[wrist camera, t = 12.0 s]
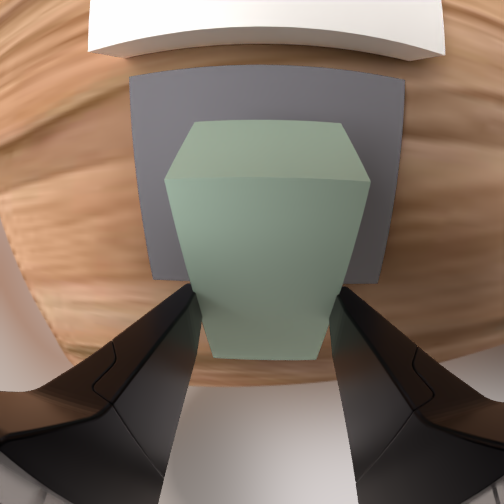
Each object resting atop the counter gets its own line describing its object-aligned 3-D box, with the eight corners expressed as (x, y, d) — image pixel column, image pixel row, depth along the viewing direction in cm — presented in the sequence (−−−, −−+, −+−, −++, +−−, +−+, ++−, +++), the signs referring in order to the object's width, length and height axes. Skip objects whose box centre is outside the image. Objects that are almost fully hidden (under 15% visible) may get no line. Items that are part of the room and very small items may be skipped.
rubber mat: (398, 80, 10) (404, 80, 9) (374, 276, 14) (377, 283, 14) (135, 77, 10) (129, 77, 10) (156, 273, 15) (153, 279, 14)
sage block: (340, 123, 8) (370, 181, 5) (311, 298, 13) (315, 359, 11) (194, 121, 8) (164, 179, 6) (221, 296, 13) (213, 357, 11)
